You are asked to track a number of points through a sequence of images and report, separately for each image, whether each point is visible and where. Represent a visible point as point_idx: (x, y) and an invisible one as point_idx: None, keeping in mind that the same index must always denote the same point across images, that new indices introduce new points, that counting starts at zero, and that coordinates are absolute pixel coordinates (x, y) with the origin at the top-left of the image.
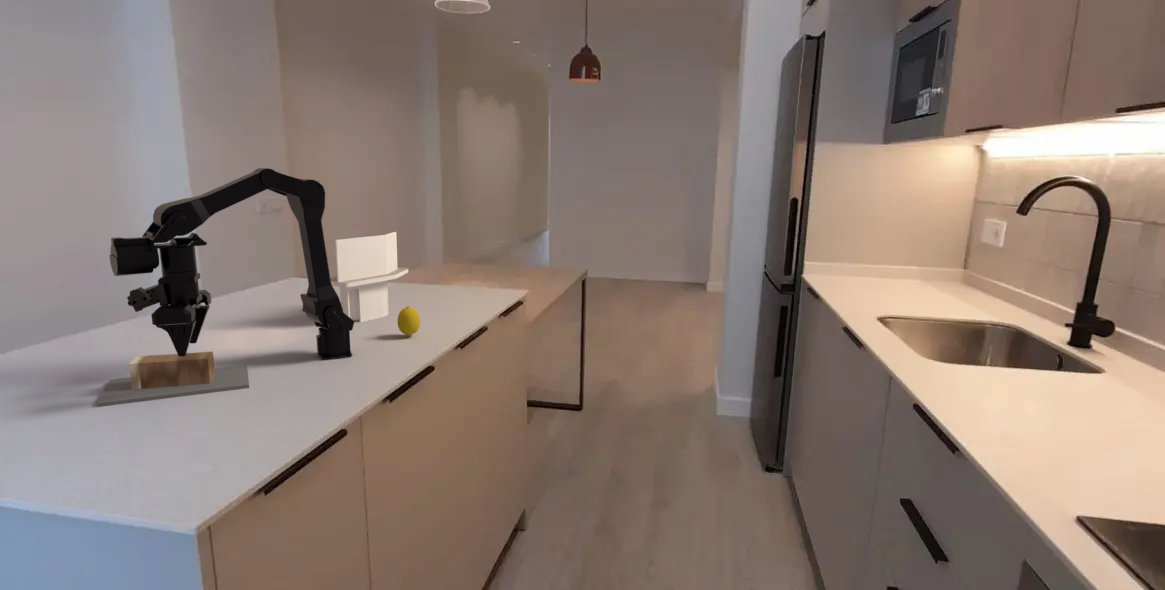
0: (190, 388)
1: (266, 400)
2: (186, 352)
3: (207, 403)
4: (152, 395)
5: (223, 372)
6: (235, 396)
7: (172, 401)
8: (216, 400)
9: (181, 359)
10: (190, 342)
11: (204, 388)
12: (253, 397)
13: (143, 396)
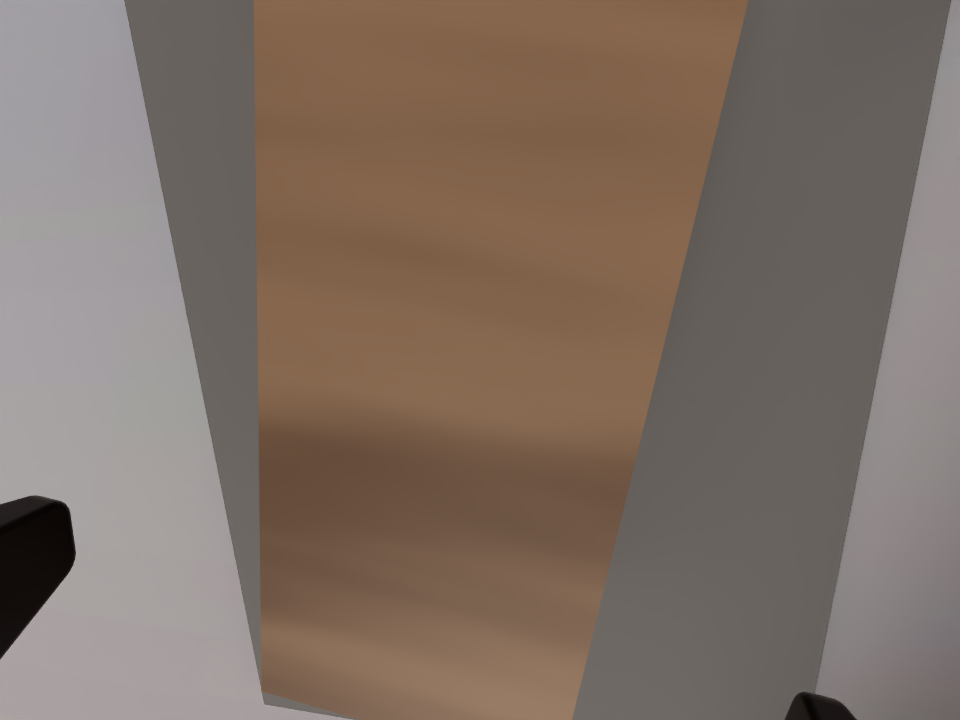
0: None
1: (48, 706)
2: (33, 607)
3: (39, 462)
4: (172, 109)
5: (636, 629)
6: (134, 602)
7: (106, 262)
8: (83, 510)
9: (302, 465)
10: (805, 706)
11: (254, 476)
12: (102, 670)
13: (159, 30)
